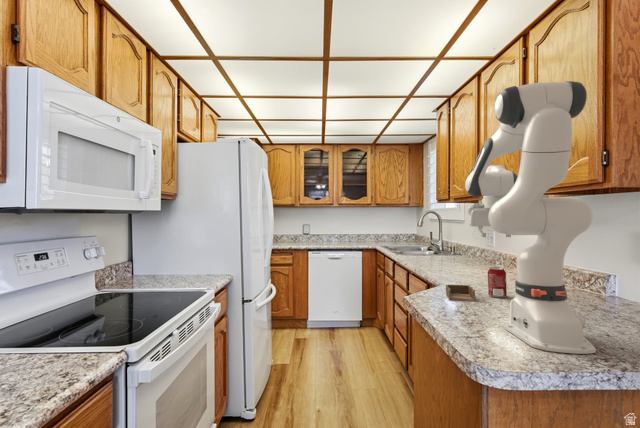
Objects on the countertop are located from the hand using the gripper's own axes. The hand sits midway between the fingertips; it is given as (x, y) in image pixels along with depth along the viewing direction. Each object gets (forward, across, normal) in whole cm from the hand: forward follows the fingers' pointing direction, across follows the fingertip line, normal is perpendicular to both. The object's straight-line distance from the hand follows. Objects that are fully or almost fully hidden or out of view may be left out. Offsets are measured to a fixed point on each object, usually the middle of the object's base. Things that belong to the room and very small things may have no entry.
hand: (495, 237), depth 131 cm
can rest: (+25, -16, -5) cm, 30 cm away
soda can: (+25, 0, 0) cm, 25 cm away
